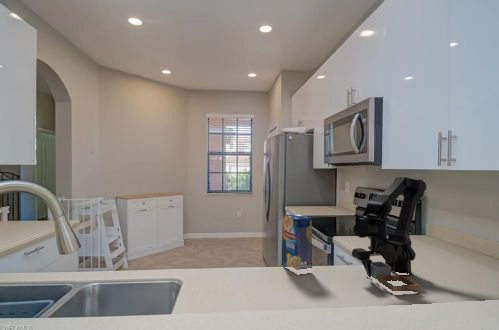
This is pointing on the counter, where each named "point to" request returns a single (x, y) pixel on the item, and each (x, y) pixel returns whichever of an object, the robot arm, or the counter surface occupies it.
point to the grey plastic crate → (380, 269)
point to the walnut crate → (410, 284)
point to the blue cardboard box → (297, 241)
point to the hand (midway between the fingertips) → (378, 276)
